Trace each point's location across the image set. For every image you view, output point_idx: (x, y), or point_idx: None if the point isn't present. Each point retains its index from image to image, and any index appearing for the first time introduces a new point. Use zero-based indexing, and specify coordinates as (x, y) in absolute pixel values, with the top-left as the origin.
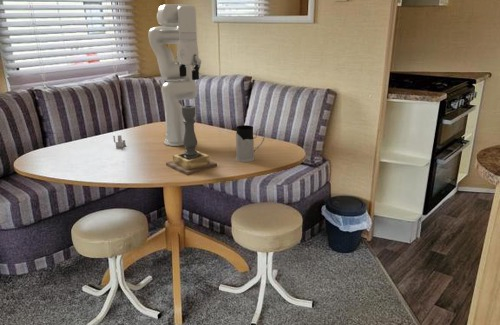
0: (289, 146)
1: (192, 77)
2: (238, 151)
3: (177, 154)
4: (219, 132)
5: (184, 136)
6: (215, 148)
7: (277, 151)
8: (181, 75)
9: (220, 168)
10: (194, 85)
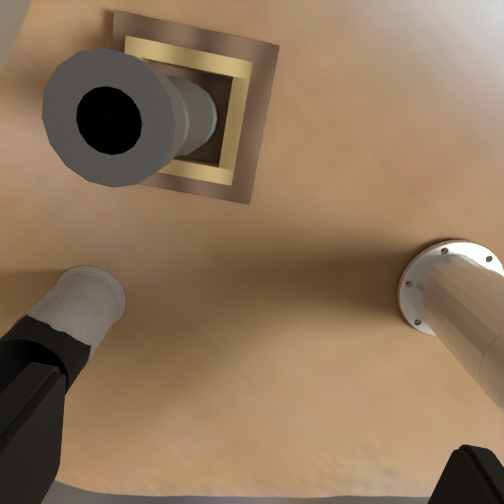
0: (74, 474)
1: (15, 390)
2: (76, 284)
3: (242, 85)
4: (384, 464)
5: (179, 85)
6: (263, 323)
7: (65, 417)
8: (460, 473)
9: None
10: None
